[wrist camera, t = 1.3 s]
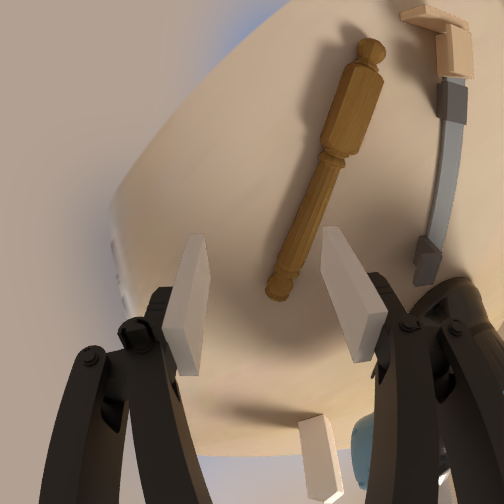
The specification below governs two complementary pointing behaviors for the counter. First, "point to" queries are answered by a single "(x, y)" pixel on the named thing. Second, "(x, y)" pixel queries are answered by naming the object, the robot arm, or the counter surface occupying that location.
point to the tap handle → (331, 159)
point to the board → (444, 126)
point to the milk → (320, 460)
